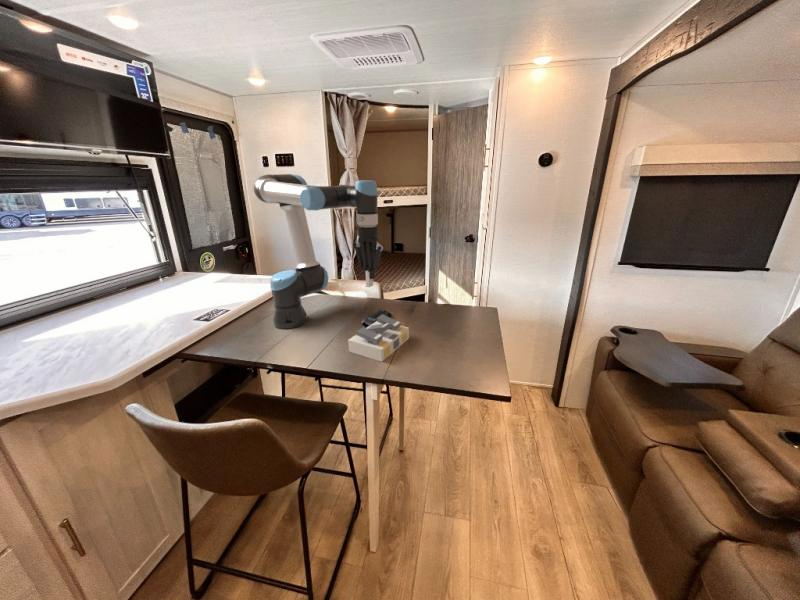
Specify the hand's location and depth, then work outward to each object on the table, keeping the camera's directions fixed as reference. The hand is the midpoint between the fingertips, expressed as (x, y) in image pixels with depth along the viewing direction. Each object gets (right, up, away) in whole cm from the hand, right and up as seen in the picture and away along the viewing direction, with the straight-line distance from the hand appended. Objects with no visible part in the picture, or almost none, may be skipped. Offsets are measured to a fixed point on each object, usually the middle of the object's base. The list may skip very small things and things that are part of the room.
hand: (369, 286), depth 122 cm
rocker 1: (+1, -19, -7) cm, 20 cm away
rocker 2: (+4, -17, -2) cm, 18 cm away
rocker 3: (+7, -15, +4) cm, 17 cm away
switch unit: (+4, -23, +1) cm, 24 cm away
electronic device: (+1, -16, +21) cm, 27 cm away
